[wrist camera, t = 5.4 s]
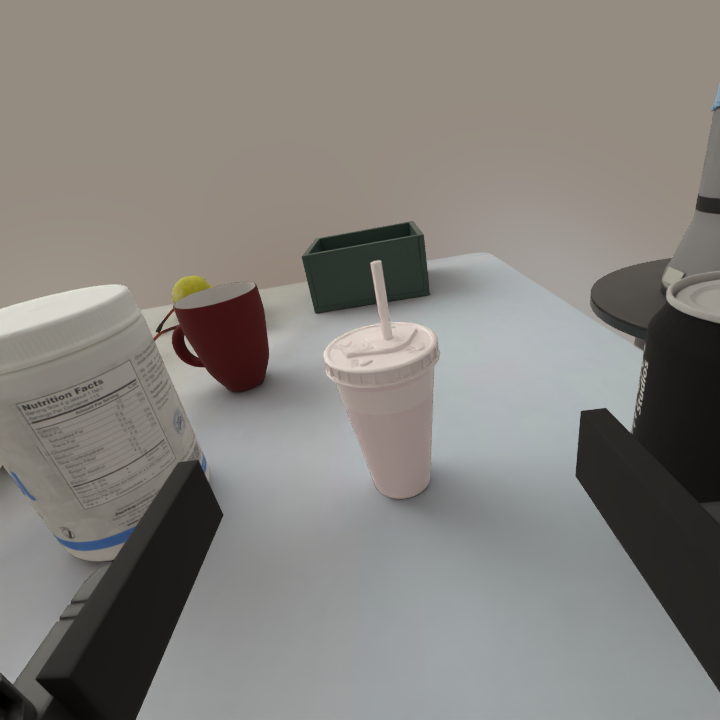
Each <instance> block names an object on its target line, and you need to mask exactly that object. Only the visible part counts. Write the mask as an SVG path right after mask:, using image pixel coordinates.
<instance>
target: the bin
mask: <svg viewBox="0 0 720 720" xmlns="http://www.w3.org/2000/svg"><path fill="white" fill-rule="evenodd" d="M302 260H303V264H304V268H305V272H306V277H307V281H308V285H309V289H310V293H311V297H312V302H313V306H314V310H315V313H320V312H326V311H333V310H339V309H345V308H351V307H357V306H363V305H369V304H376V303H377V300H376V294H375V288H374V282H373V276H372V270H371V264H370V263H371V262H373V261H378V260H380V261H381V263H382V269H383V276H384V282H385V289H386V295H387V302H388V301H394V300H400V299H406V298H413V297H419V296H425V295H430V291H429V281H428V272H427V262H426V252H425V242H424V235H423V234H422V232H421V231H420V229H419V228H418V227H417V226H416V224H415V223H414V222H413V221H410V222H405V223H399V224H394V225H389V226H383V227H377V228H372V229H367V230H361V231H356V232H350V233H345V234H339V235H334V236H328V237H323V238H317V239H315V240H314V242H313V243H312V244H311V245H310V247H309V248H308V249H307V250H306V252H305V253H304V254H303V255H302Z"/></svg>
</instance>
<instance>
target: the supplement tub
mask: <svg viewBox="0 0 720 720" xmlns="http://www.w3.org/2000/svg"><path fill="white" fill-rule="evenodd" d="M192 460H199V462H200V464H201V467H202V469H203V471H204V473H205V475H206V478H207V480H208V482H209V478H210V473H209V467H208V464H207V462H206V459H205V457H204V454H203V452H202V450H201V448H200V445H199V443H198V441H197V439H196V436H195V434H194V432H193V429H192V427H191V425H190V422H189V420H188V418H187V415H186V413H185V411H184V408H183V406H182V404H181V401H180V399H179V397H178V394H177V392H176V390H175V388H174V385H173V383H172V381H171V378H170V376H169V374H168V371H167V369H166V367H165V365H164V362H163V360H162V358H161V355H160V353H159V351H158V348H157V346H156V344H155V341H154V339H153V337H152V334H151V332H150V330H149V328H148V325H147V323H146V321H145V319H144V316H143V315H142V314H141V310H140V308H139V307H138V306H137V305H136V304H135V302H134V300H133V297H132V295H131V293H130V291H129V289H128V288H127V287H126V286H123V285H101V286H94V287H88V288H82V289H76V290H71V291H67V292H63V293H58V294H54V295H49V296H45V297H41V298H38V299H33V300H30V301H26V302H23V303H19V304H15V305H12V306H9V307H5V308H2V309H0V463H1V464H2V465H3V467H4V468H5V469H6V471H7V472H8V473H9V475H10V476H11V477H12V479H13V480H14V481H15V483H16V484H17V486H18V487H19V488H20V490H21V491H22V492H23V494H24V495H25V496H26V498H27V499H28V500H29V502H30V503H31V505H32V506H33V507H34V509H35V510H36V511H37V513H38V514H39V515H40V517H41V518H42V519H43V521H44V522H45V523H46V525H47V526H48V528H49V529H50V530H51V532H52V533H53V535H54V536H55V537H56V538H57V540H58V541H59V542H60V544H61V545H62V546H63V547H64V549H65V550H66V551H67V552H69V553H70V554H71V555H73V556H75V557H77V558H79V559H83V560H88V561H109V560H114V559H115V557H116V556H117V554H118V553H119V551H120V550H121V548H122V547H123V545H124V544H125V542H126V541H127V539H128V538H129V536H130V534H131V533H132V531H133V530H134V528H135V527H136V525H137V524H138V522H139V521H140V519H141V518H142V516H143V515H144V513H145V512H146V510H147V509H148V507H149V506H150V504H151V503H152V501H153V500H154V498H155V497H156V495H157V494H158V492H159V491H160V489H161V488H162V486H163V485H164V483H165V481H166V480H167V478H168V477H169V475H170V474H171V472H172V471H173V469H174V468H175V466H176V465H177V463H178V462H184V461H192Z"/></svg>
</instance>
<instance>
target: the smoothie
mask: <svg viewBox="0 0 720 720" xmlns="http://www.w3.org/2000/svg"><path fill="white" fill-rule="evenodd" d="M370 264H371V270H372V276H373V282H374V288H375V294H376V300H377V306H378V312H379V318H380V323H378V324H373V325H368V326H364V327H361V328H357V329H355V330H352V331H349V332H347V333H345V334H343V335H341V336H339V337H338V338H336V339H335V340H333V341H332V342H331V343H330V344H329V345H328V346H327V348H326V349H325V351H324V354H323V358H324V361H325V365H326V367H325V371H326V374H327V376H328V377H329V378H330V379H331V380H332V381H334V382H335V383H336V385H337V387H338V390H339V393H340V396H341V398H342V401H343V403H344V406H345V408H346V411H347V413H348V416H349V419H350V421H351V424H352V426H353V429H354V432H355V434H356V437H357V439H358V442H359V445H360V447H361V450H362V453H363V455H364V458H365V460H366V463H367V466H368V468H369V471H370V473H371V476H372V479H373V481H374V484H375V486H376V488H377V490H378V491H379V492H380V493H382V494H383V495H385V496H387V497H390V498H396V499H404V498H409V497H413V496H415V495H417V494H419V493H421V492H422V491H423V490H424V489H425V488H426V487H427V486H428V484H429V482H430V476H431V445H432V414H433V387H434V365H435V364H436V363H437V361H438V360H439V355H440V351H439V348H438V339H437V335H436V334H435V332H434V331H432V330H431V329H429V328H428V327H426V326H423V325H420V324H416V323H409V322H390V315H389V309H388V302H387V295H386V289H385V282H384V276H383V269H382V263H381V261H380V260H378V261H373V262H371V263H370Z"/></svg>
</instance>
